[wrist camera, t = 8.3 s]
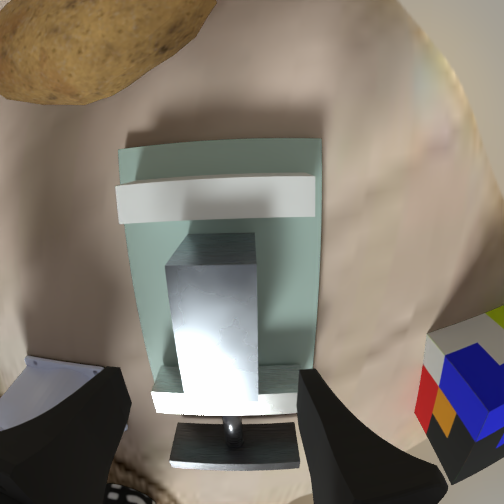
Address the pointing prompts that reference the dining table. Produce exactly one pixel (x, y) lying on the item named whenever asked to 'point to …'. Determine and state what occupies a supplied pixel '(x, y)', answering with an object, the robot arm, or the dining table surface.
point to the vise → (228, 231)
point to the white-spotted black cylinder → (124, 495)
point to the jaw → (233, 424)
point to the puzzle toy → (464, 394)
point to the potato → (89, 45)
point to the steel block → (215, 316)
